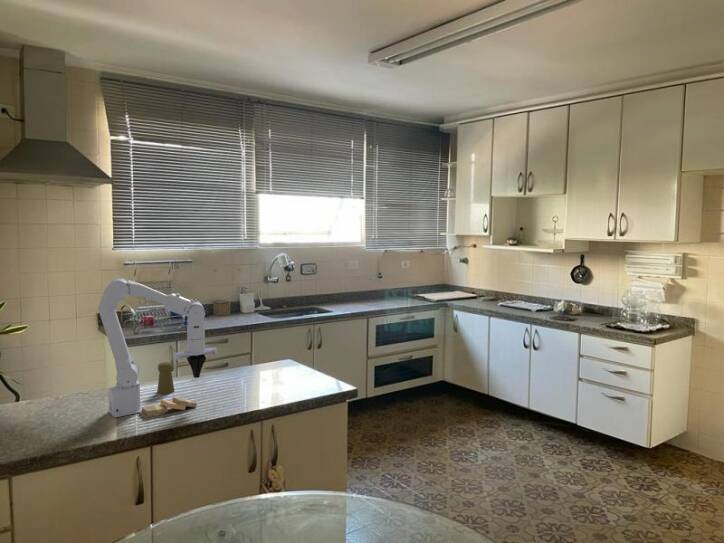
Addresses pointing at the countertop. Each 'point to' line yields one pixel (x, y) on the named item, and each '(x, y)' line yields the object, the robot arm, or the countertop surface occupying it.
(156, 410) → the middle domino
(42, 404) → the countertop surface
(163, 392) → the cork
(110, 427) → the countertop surface
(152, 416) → the domino
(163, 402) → the domino
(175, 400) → the end domino
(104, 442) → the countertop surface
